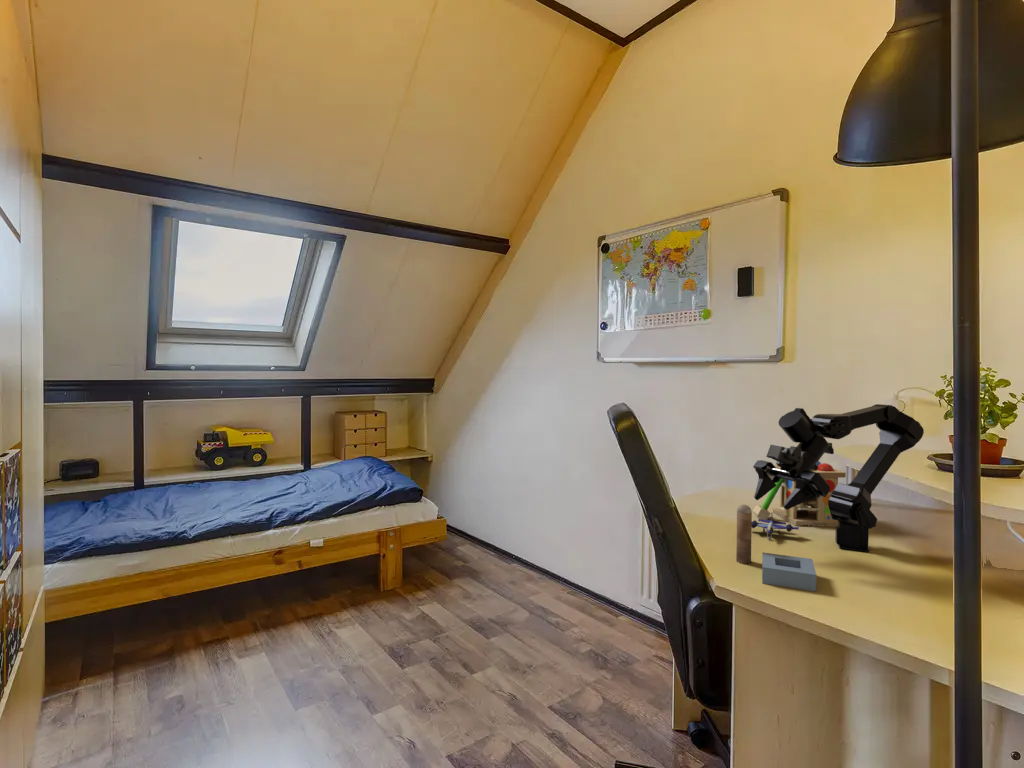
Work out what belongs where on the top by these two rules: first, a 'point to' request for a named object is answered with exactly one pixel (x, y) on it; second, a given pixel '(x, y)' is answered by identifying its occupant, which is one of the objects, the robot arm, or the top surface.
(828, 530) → the top surface
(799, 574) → the slotted blue base
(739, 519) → the walnut peg
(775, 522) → the toy airplane
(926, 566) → the top surface
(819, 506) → the pounding bench toy
